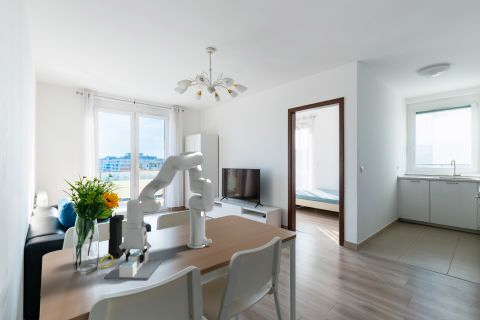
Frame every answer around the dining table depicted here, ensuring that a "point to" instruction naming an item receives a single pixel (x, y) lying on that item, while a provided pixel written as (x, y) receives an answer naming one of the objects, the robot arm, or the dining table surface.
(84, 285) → the dining table surface
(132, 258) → the module block
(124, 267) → the board
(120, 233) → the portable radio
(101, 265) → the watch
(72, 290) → the dining table surface
